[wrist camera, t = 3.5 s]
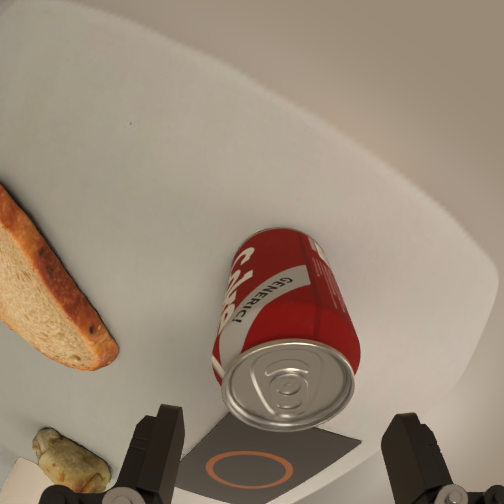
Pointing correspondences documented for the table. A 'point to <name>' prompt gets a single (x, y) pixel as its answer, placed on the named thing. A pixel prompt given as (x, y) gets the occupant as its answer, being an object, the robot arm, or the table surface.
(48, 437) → the pastry
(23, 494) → the bottle
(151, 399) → the table surface
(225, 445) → the hob mat
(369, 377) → the table surface
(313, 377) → the soda can
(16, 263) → the slice of bread
